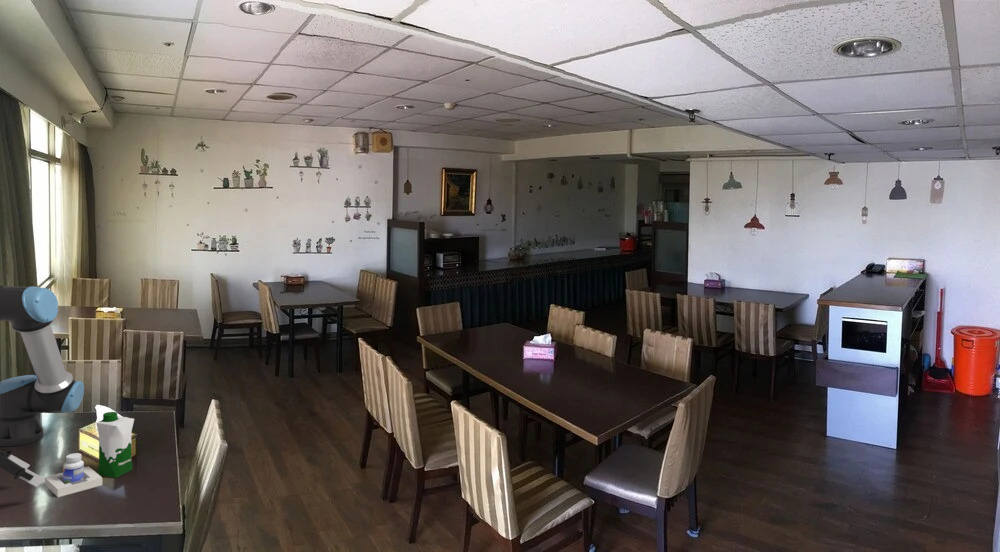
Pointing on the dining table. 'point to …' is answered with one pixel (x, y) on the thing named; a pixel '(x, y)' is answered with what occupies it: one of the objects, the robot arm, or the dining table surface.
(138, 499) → the dining table surface
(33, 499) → the dining table surface
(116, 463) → the milk carton
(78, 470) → the pill bottle
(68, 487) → the plate
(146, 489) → the dining table surface
